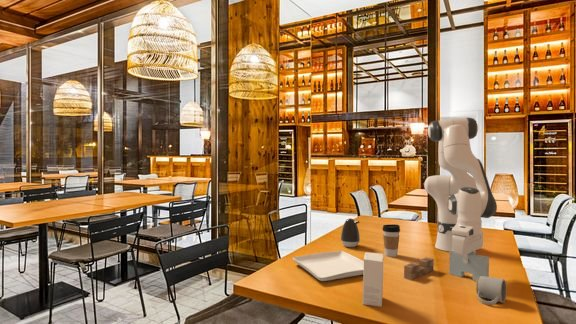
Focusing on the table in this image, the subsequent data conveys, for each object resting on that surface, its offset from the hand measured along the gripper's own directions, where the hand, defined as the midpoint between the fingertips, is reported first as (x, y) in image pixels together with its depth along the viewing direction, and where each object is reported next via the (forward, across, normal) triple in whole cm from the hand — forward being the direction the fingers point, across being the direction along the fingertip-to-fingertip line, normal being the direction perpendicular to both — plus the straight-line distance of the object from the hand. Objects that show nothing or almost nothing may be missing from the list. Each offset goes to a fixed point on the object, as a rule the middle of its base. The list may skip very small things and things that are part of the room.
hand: (468, 261), depth 136 cm
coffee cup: (+7, -2, -38) cm, 38 cm away
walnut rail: (+7, +12, -15) cm, 20 cm away
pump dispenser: (+7, +1, -61) cm, 61 cm away
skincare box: (+7, +48, -11) cm, 50 cm away
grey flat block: (+7, 0, 0) cm, 7 cm away
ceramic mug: (+7, +16, +14) cm, 22 cm away
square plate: (+7, +36, -42) cm, 56 cm away
